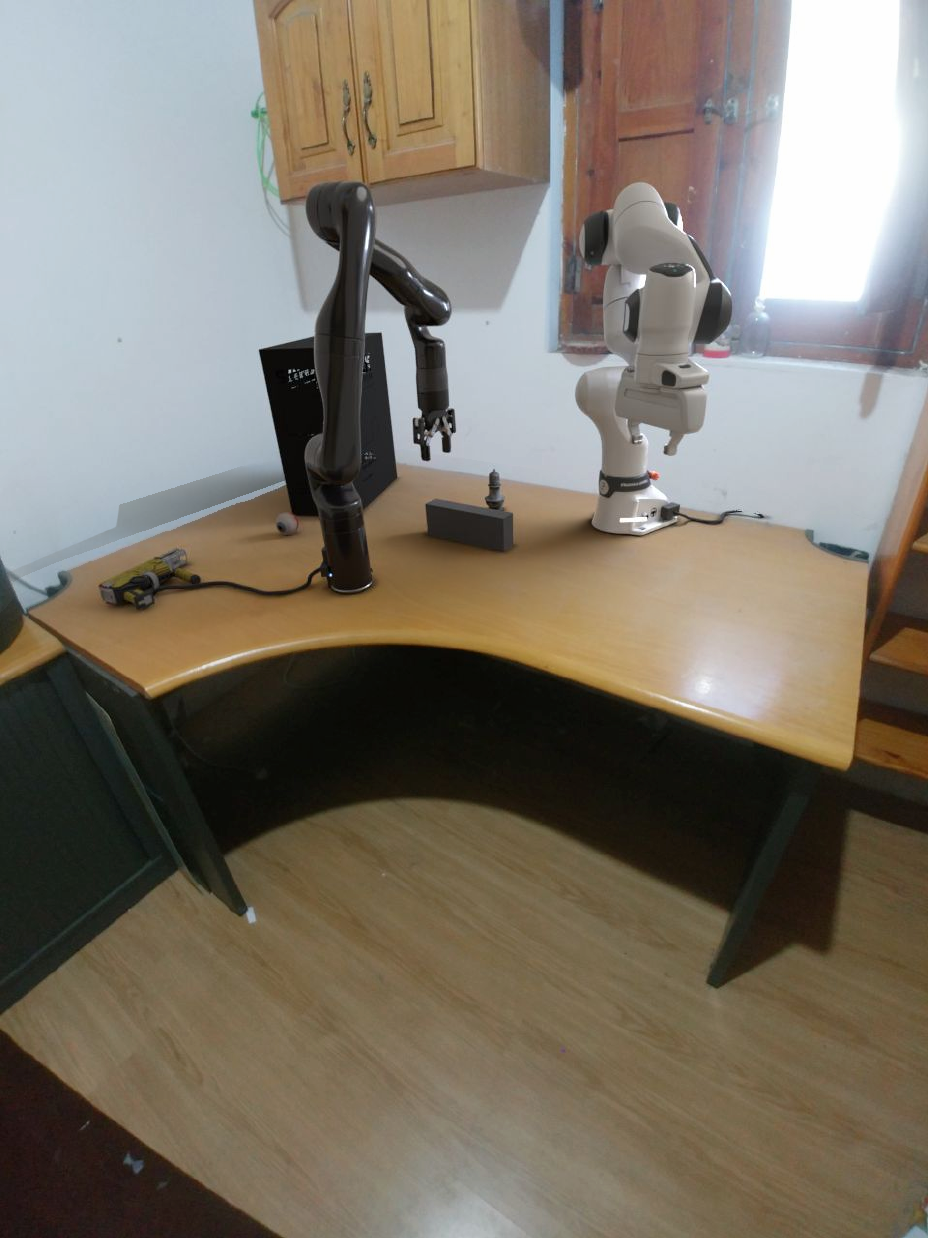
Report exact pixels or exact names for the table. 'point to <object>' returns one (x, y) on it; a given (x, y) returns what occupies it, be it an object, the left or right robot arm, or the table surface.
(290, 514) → the eyeball
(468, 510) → the bar
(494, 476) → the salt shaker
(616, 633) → the table surface
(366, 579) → the left robot arm
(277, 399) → the cardboard box
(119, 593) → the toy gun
